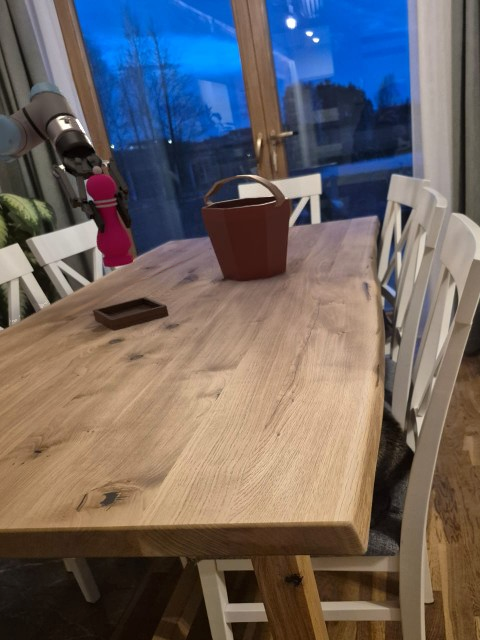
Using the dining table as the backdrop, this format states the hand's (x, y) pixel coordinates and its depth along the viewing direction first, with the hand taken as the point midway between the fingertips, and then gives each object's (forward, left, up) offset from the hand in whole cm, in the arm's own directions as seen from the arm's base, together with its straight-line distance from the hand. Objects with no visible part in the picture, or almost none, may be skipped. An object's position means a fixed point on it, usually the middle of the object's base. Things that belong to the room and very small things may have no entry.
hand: (115, 226), depth 121 cm
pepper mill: (-3, +2, -8) cm, 9 cm away
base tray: (-2, 0, -20) cm, 20 cm away
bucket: (+11, +40, -20) cm, 46 cm away
